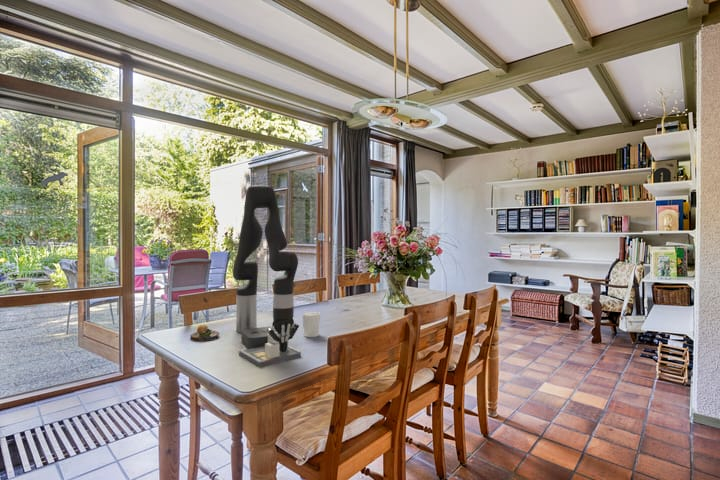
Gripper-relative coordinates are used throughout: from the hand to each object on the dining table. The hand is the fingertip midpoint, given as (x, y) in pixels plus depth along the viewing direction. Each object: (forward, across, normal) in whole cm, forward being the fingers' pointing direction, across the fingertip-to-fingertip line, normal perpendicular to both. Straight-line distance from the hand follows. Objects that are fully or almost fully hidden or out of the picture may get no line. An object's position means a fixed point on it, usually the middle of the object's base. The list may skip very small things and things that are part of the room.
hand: (283, 351), depth 140 cm
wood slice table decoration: (+3, +12, -46) cm, 47 cm away
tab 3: (+1, -3, -5) cm, 6 cm away
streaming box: (+3, -3, -22) cm, 22 cm away
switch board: (+2, +2, -6) cm, 7 cm away
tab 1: (+1, -3, -11) cm, 11 cm away
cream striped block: (+1, +5, 0) cm, 5 cm away
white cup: (+3, -26, -18) cm, 32 cm away
